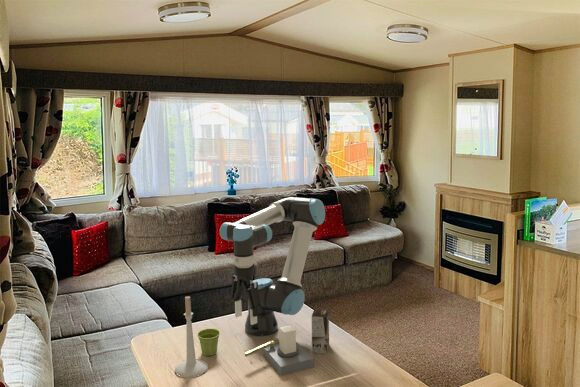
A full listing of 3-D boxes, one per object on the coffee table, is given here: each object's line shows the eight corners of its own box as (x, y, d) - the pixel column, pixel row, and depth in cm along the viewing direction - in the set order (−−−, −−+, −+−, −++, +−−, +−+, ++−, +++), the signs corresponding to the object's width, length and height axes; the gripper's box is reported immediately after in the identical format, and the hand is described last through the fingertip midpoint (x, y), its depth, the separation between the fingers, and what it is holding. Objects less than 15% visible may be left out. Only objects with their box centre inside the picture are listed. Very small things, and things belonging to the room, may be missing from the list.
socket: (263, 356, 200) (263, 344, 200) (294, 348, 206) (294, 337, 205) (281, 376, 184) (280, 363, 183) (314, 368, 190) (313, 355, 189)
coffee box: (327, 354, 201) (326, 317, 198) (311, 353, 202) (310, 316, 200) (329, 344, 210) (329, 308, 207) (314, 343, 211) (314, 307, 208)
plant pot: (224, 349, 207) (223, 329, 206) (214, 359, 198) (213, 339, 197) (205, 346, 210) (204, 327, 209) (194, 356, 201) (192, 336, 200)
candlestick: (188, 358, 200) (184, 288, 195) (214, 364, 194) (211, 292, 190) (167, 373, 188) (163, 299, 184) (195, 380, 183) (191, 304, 178)
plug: (274, 358, 197) (273, 326, 195) (293, 353, 201) (292, 322, 199) (282, 367, 190) (281, 335, 188) (302, 363, 193) (301, 330, 191)
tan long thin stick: (272, 342, 201) (272, 339, 200) (275, 344, 199) (275, 340, 199) (243, 355, 190) (243, 352, 190) (247, 357, 189) (247, 354, 188)
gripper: (220, 261, 196) (222, 314, 199) (253, 273, 180) (255, 331, 183) (235, 257, 201) (237, 309, 204) (269, 269, 185) (271, 325, 188)
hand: (246, 319), depth 194 cm, fingers open, 9 cm apart
